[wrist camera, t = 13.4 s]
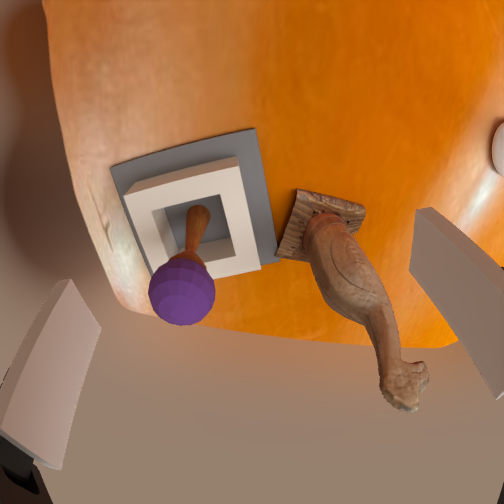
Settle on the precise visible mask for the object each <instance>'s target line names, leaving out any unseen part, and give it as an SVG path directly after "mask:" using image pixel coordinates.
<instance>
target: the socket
mask: <svg viewBox="0 0 504 504" xmlns="http://www.w3.org/2000/svg"><path fill="white" fill-rule="evenodd" d="M110 171H111V174H112V177H113V180H114V183H115V186H116V189H117V191H118V194H119V197H120V200H121V202H122V205H123V208H124V211H125V213H126V216H127V219H128V221H129V224H130V226H131V229H132V231H133V234H134V236H135V239H136V241H137V244H138V246H139V249H140V251H141V254H142V256H143V258H144V261H145V263H146V265H147V268H148V270H149V272H150V275H151V277H152V275H153V274H154V273H155V271H156V270H157V269H158V267H159V266H161V265H163V264H165V263H167V262H168V260H169V259H170V258H171V257H173V256H175V255H177V254H179V253H181V252H183V251H185V237H186V216H187V211H188V210H189V209H190V207H192V206H194V205H202V206H205V207H206V208H207V209H208V210H209V212H210V216H211V217H210V221H209V223H208V225H207V228H206V230H205V232H204V234H203V237H202V239H201V241H200V244H199V246H198V248H197V251H196V254H197V255H198V256H199V257H200V259H201V260H202V261H203V262H204V264H205V265H206V268H207V272H208V273H209V275H210V276H211V277H212V279H217V278H222V277H227V276H232V275H236V274H241V273H246V272H251V271H255V270H260V269H261V266H260V265H265V264H269V263H274V262H279V261H280V258H279V257H275V256H274V255H275V253H276V251H277V250H278V246H277V240H276V235H275V229H274V224H273V218H272V213H271V207H270V202H269V196H268V191H267V186H266V180H265V175H264V170H263V165H262V160H261V155H260V149H259V144H258V139H257V134H256V129H255V128H252V129H247V130H242V131H238V132H233V133H228V134H224V135H220V136H215V137H211V138H207V139H203V140H199V141H195V142H191V143H187V144H183V145H180V146H176V147H172V148H169V149H165V150H162V151H159V152H155V153H152V154H149V155H145V156H142V157H139V158H136V159H133V160H130V161H127V162H124V163H121V164H118V165H115V166H112V167H111V168H110Z"/></svg>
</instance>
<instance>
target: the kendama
mask: <svg viewBox="0 0 504 504" xmlns="http://www.w3.org/2000/svg"><path fill="white" fill-rule="evenodd" d="M210 217H211V216H210V212H209V210H208V209H207V208H206V207H205V206H202V205H194V206H192V207H190V209H189V210H188V211H187V216H186V237H185V251H183V252H181V253H179V254H177V255H175V256H173V257H171V258H170V259H169V260H168V262H167V263H165V264H163V265H161V266H159V267H158V269H157V270H156V271H155V273H154V274H153V275H152V278H151V281H150V284H149V291H148V295H149V298H150V301H151V304H152V307H153V310H154V311H155V313H156V314H157V315H158V316H159V317H160V318H161V319H163V320H165V321H167V322H168V323H171V324H176V325H180V326H182V325H192V324H194V323H197V322H199V321H201V320H202V319H203V318H204V317H205V316H206V315H207V314H208V312H209V311H210V310H211V309H212V306H213V303H214V300H215V286H214V280H213V279H212V277H211V276H210V275H209V273H208V272H207V268H206V265H205V264H204V262H203V261H202V260H201V259H200V257H199V256H198V255H197V254H196V251H197V248H198V246H199V244H200V241H201V239H202V237H203V234H204V232H205V230H206V228H207V225H208V223H209V221H210Z"/></svg>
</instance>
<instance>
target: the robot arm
mask: <svg viewBox="0 0 504 504" xmlns="http://www.w3.org/2000/svg"><path fill="white" fill-rule="evenodd" d="M409 271H410V273H411V274H412V275H413V276H414V278H415V279H416V280H417V282H418V283H419V284H420V286H421V287H422V288H423V289H424V291H425V292H426V293H427V295H428V296H429V297H430V299H431V300H432V302H433V303H434V304H435V306H436V307H437V308H438V310H439V311H440V313H441V314H442V315H443V317H444V318H445V320H446V321H447V323H448V324H449V325H450V327H451V328H452V330H453V331H454V333H455V334H456V336H457V337H458V339H459V340H460V342H461V343H462V345H463V346H464V348H465V349H466V351H467V352H468V354H469V356H470V357H471V359H472V360H473V362H474V364H475V365H476V367H477V369H478V370H479V372H480V374H481V375H482V377H483V379H484V380H485V382H486V384H487V386H488V387H489V389H490V391H491V393H492V394H493V396H494V398H495V400H497V399H498V398H500V397H501V396H503V395H504V267H500V266H499V265H498V264H497V263H496V262H495V261H494V260H493V259H492V258H491V257H490V256H488V255H487V254H486V253H485V252H484V251H483V250H482V249H481V248H480V247H479V246H478V245H477V244H475V243H474V242H473V241H472V240H471V239H470V238H469V237H468V236H466V235H465V234H464V233H463V232H462V231H461V230H459V229H458V228H457V227H456V226H455V225H453V224H452V223H451V222H450V221H449V220H447V219H446V218H445V217H444V216H443V215H441V214H440V213H439V212H437V211H436V210H435V209H434V208H432V207H428V208H423V209H417V210H416V213H415V224H414V234H413V243H412V251H411V259H410V266H409ZM100 332H101V328H100V326H99V324H98V323H97V321H96V320H95V318H94V316H93V315H92V313H91V312H90V310H89V309H88V307H87V305H86V304H85V302H84V300H83V299H82V297H81V295H80V293H79V292H78V290H77V288H76V286H75V285H74V283H73V281H72V279H67V280H62V281H58V282H57V283H56V285H55V286H54V288H53V289H52V291H51V293H50V294H49V296H48V298H47V299H46V301H45V302H44V304H43V306H42V307H41V310H40V311H39V313H38V314H37V316H36V318H35V320H34V321H33V323H32V325H31V327H30V329H29V331H28V332H27V334H26V336H25V338H24V340H23V342H22V344H21V346H20V348H19V350H18V352H17V354H16V356H15V358H14V360H13V362H12V364H11V366H10V367H9V369H8V371H7V373H6V375H5V377H4V379H3V383H2V384H1V386H0V504H53V502H52V500H51V498H50V496H49V494H48V491H47V489H46V486H45V484H44V482H43V479H42V477H41V474H40V471H39V470H38V468H37V466H35V465H34V464H33V460H34V459H35V460H36V461H38V462H40V463H41V464H43V465H44V466H47V467H50V468H54V469H57V470H62V464H63V459H64V455H65V450H66V446H67V441H68V437H69V433H70V429H71V425H72V421H73V417H74V413H75V410H76V406H77V403H78V399H79V395H80V392H81V389H82V385H83V382H84V379H85V376H86V373H87V370H88V367H89V364H90V360H91V358H92V355H93V352H94V349H95V346H96V343H97V340H98V338H99V335H100ZM497 504H504V483H503V487H502V490H501V493H500V496H499V499H498V502H497Z"/></svg>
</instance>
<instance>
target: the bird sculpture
mask: <svg viewBox="0 0 504 504" xmlns="http://www.w3.org/2000/svg"><path fill="white" fill-rule="evenodd" d="M296 190H297V197H296V201H295V206H294V207H293V210H292V214H291V217H290V220H289V221H288V223H287V224H288V225H287V226H286V228H285V232H284V235H283V238H284V239H283V238H282V241H281V242H280V246H279V248H278V250H277V251H276V253H275V255H274V256H275V257H280V258H286V259H292V260H298V261H304V262H309V263H310V265H311V268H312V271H313V274H314V276H315V280H316V282H317V284H318V287H319V289H320V291H321V293H322V296H323V298H324V300H325V302H326V303H327V304H328V305H329V306H330V307H331V308H332V309H333V310H334V311H336V312H337V313H339V314H341V315H342V316H344V317H346V318H348V319H350V320H352V321H355V322H357V323H359V324H362V325H364V326H365V327H366V330H367V332H368V334H369V336H370V339H371V341H372V343H373V346H374V348H375V351H376V356H377V361H378V370H379V376H380V385H379V386H380V390H381V391H382V394H383V395H384V398H385V399H386V400H387V402H389V403H390V404H392V406H393V407H394V408H397V409H398V410H400V411H403V412H406V413H415V412H417V411H418V406H419V394H420V392H422V391H423V390H425V388H426V386H427V384H428V382H429V374H428V371H427V367H426V365H425V363H424V362H423V361H419V362H415V363H407V362H404V361H402V360H401V355H400V354H401V352H400V348H401V347H400V339H399V331H398V327H397V323H396V319H395V316H394V311H393V309H392V305H391V302H390V300H389V297H388V295H387V293H386V291H385V289H384V286H383V283H382V282H381V279H380V277H379V276H378V274H377V273H376V271H375V269H374V267H373V266H372V264H371V263H370V261H369V260H368V258H367V256H366V255H365V253H364V251H363V250H362V249H361V247H360V246H359V244H358V243H357V241H356V240H355V238H354V237H353V234H354V233H355V231H356V233H357V232H358V230H359V228H360V226H361V224H362V221H363V220H364V217H365V214H366V212H365V208H364V206H363V205H360V204H356V203H352V202H349V201H347V200H343V199H340V198H336V197H332V196H328V195H323V194H319V193H316V192H311V191H306V190H302V189H297V188H296ZM312 209H314V210H315V212H316V213H315V214H313V212H314V210H312ZM324 209H325V210H324ZM322 210H324V213H322ZM335 212H337V213H338V215H337V214H336V213H335ZM332 213H334V214H332ZM340 214H341V215H340ZM314 215H315V216H314ZM356 219H357V221H356ZM299 221H300V222H301V223H299ZM308 221H309V222H308ZM302 222H304V224H302ZM345 222H346V223H347V224H346V223H345ZM349 225H350V226H349ZM300 226H301V227H300ZM299 227H300V228H299ZM301 231H303V232H301ZM299 232H300V233H299ZM352 232H354V233H352ZM298 234H299V235H298ZM284 236H285V237H284ZM300 236H301V237H302V238H303V240H302V238H300ZM283 243H284V244H283ZM296 243H297V245H296ZM298 243H299V244H298ZM281 244H282V245H281ZM284 246H285V247H284ZM302 246H303V248H302ZM292 247H293V248H292ZM289 248H291V249H289Z"/></svg>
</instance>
